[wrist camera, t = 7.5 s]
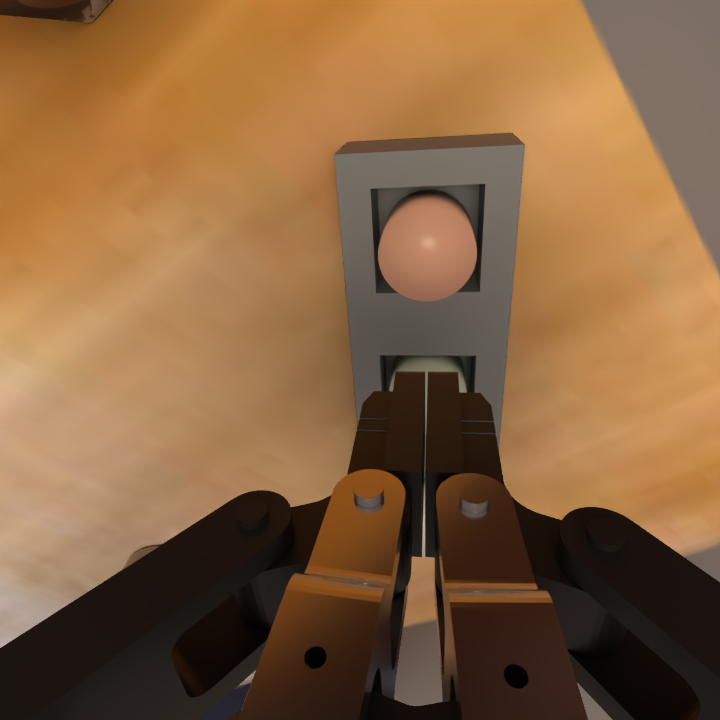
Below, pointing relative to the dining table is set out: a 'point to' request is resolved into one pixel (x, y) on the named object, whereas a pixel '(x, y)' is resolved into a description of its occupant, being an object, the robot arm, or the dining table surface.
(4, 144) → the dining table surface
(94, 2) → the coffee box
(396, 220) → the terracotta button
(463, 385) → the sage button
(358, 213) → the button panel
